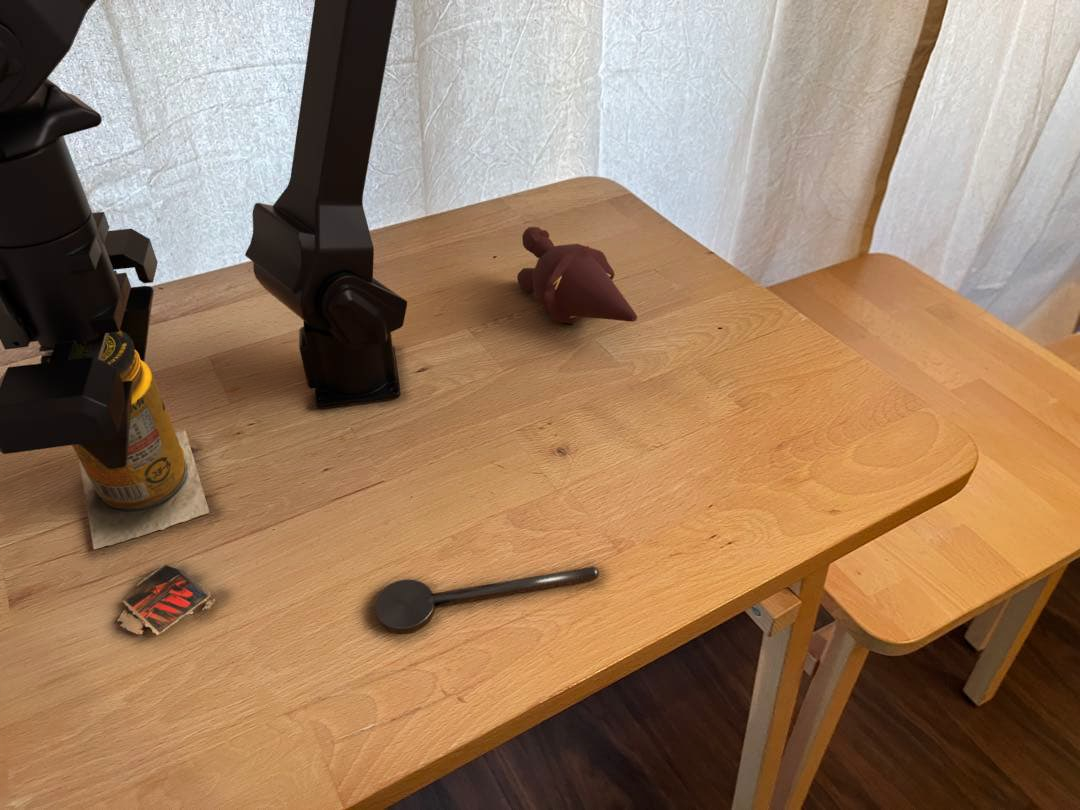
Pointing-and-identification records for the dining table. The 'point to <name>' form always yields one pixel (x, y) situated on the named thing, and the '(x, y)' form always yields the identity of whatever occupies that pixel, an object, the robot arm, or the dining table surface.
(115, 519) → the condiment
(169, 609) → the torn cardboard piece
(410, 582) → the steel spoon
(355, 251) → the robot arm
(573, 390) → the dining table surface
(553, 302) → the brown gnome figurine
